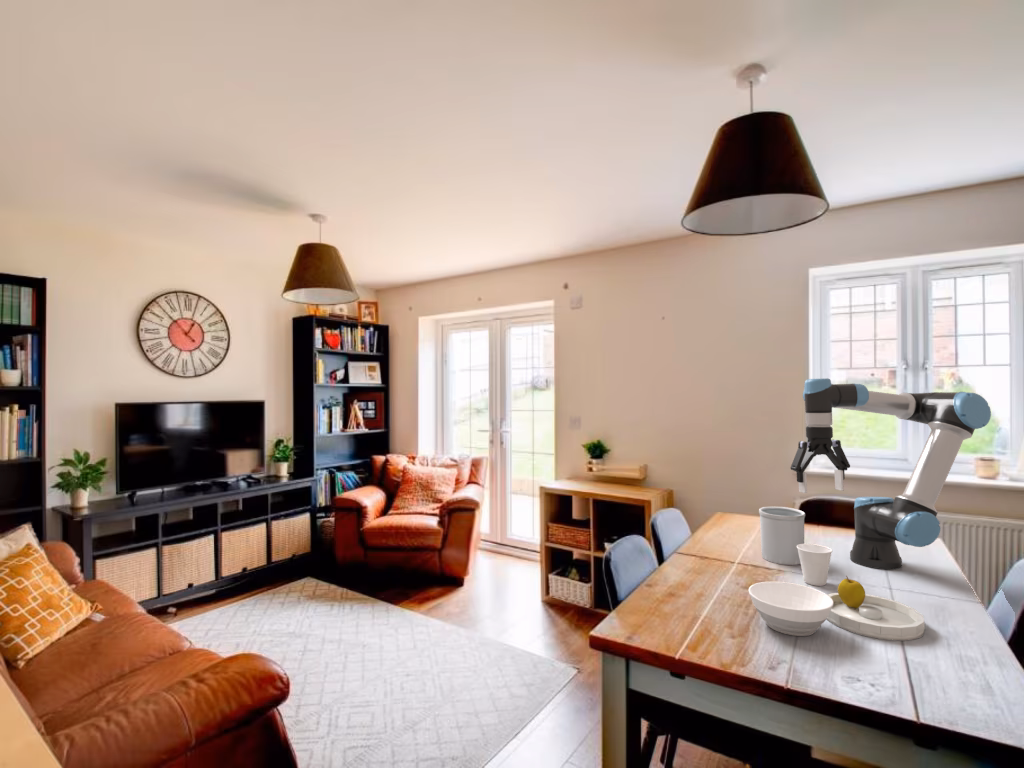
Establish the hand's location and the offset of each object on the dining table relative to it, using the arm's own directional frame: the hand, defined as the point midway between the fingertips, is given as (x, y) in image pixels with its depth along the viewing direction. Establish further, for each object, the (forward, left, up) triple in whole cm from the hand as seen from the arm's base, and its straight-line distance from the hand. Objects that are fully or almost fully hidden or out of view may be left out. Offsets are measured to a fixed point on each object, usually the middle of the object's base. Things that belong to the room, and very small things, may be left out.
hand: (821, 491), depth 169 cm
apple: (+11, +23, -27) cm, 37 cm away
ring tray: (+11, +29, -28) cm, 42 cm away
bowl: (+34, +28, -29) cm, 53 cm away
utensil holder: (-1, -21, -29) cm, 35 cm away
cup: (+5, +2, -29) cm, 29 cm away
